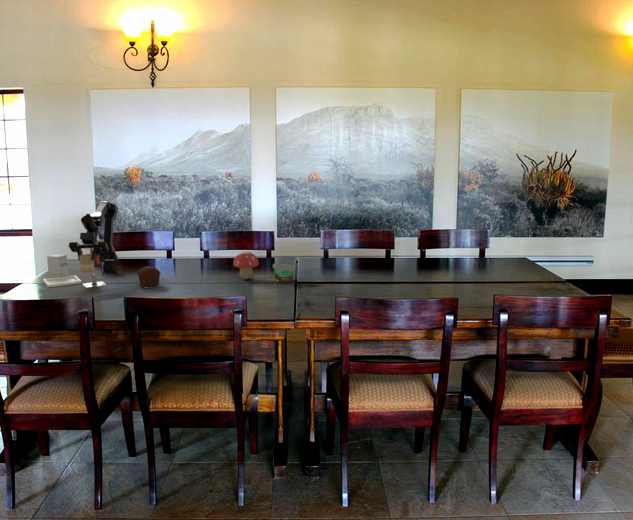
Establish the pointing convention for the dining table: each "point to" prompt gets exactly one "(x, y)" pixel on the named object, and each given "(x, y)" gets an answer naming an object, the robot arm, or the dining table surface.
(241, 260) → the decorative mushroom
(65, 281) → the plastic tray
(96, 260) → the candy box
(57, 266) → the supplement box
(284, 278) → the food container
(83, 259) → the wooden pen holder
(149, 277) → the muffin
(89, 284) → the white square pedestal
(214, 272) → the dining table surface
